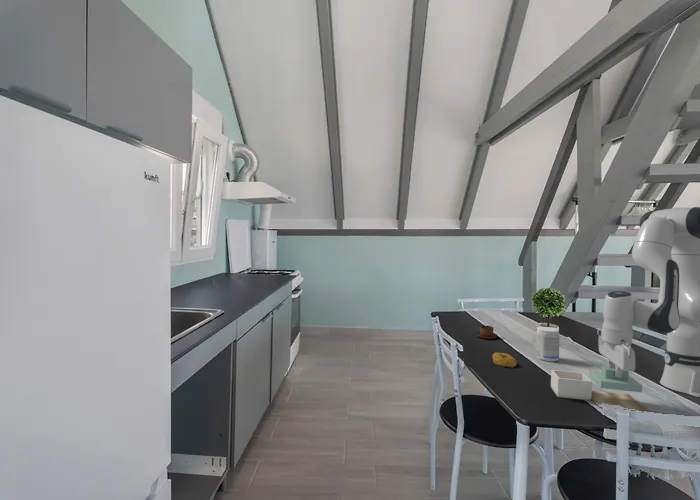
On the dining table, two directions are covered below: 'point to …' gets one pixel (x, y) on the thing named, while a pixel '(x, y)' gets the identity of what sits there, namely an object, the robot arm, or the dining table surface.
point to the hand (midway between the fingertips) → (615, 374)
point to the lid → (615, 380)
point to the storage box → (571, 384)
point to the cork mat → (617, 400)
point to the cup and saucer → (486, 332)
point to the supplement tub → (548, 343)
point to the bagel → (504, 360)
